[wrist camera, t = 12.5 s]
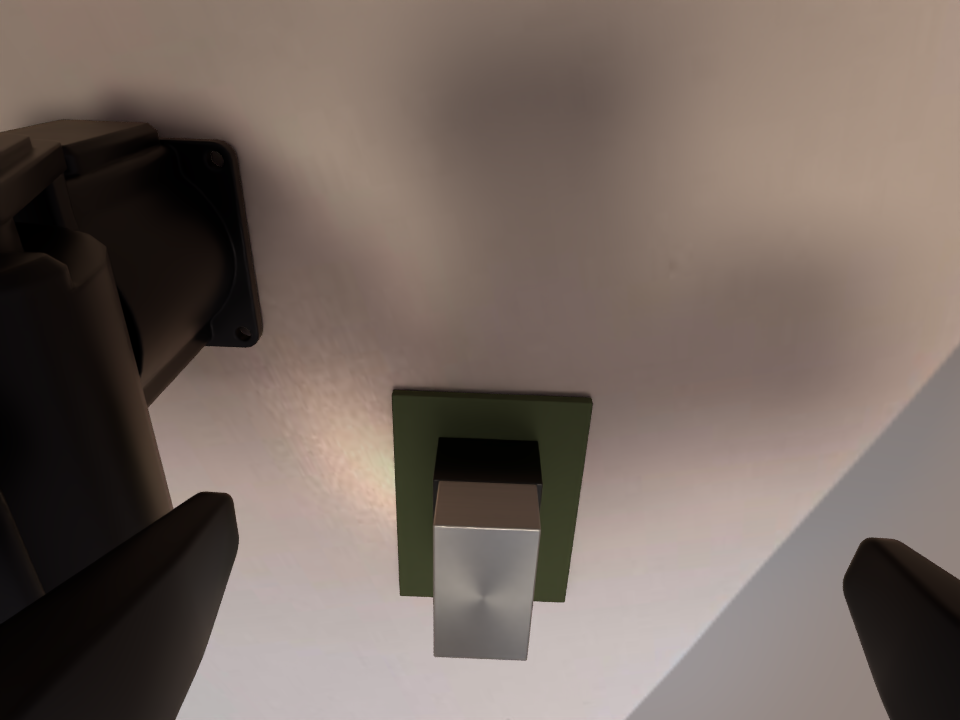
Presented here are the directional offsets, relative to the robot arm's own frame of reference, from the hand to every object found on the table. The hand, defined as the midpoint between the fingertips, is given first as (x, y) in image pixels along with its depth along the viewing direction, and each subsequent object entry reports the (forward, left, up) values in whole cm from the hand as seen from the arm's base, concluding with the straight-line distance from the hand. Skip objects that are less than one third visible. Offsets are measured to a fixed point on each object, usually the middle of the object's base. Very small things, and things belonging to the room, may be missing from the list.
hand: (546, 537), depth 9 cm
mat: (-10, +1, -12) cm, 16 cm away
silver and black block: (-10, +1, -12) cm, 15 cm away
